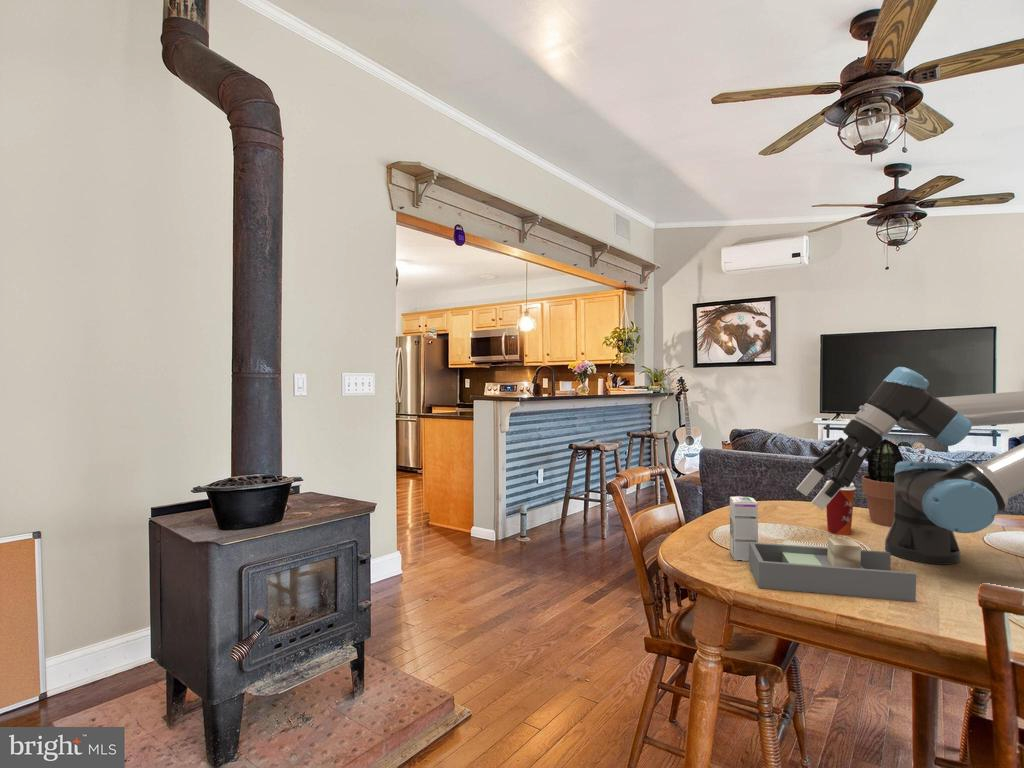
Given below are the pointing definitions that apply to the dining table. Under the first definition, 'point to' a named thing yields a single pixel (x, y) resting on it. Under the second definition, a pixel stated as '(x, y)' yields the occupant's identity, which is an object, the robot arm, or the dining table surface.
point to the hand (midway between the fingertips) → (808, 499)
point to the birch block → (844, 553)
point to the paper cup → (841, 511)
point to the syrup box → (743, 526)
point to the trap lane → (828, 572)
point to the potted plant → (881, 482)
